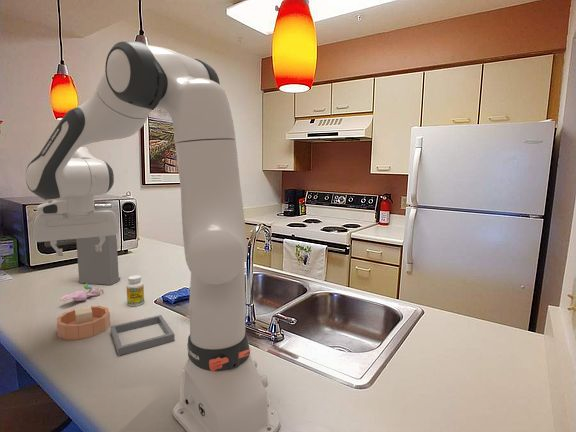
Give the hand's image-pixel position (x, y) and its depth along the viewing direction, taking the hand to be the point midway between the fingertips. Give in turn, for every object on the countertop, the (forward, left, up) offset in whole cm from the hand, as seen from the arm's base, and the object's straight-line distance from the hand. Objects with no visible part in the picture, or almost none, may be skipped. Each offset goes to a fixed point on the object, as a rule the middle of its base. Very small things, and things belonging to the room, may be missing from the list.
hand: (79, 253), depth 94 cm
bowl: (0, 0, -23) cm, 23 cm away
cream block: (0, 0, -22) cm, 22 cm away
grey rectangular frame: (-14, -13, -23) cm, 30 cm away
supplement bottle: (+11, -16, -23) cm, 30 cm away
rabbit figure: (+24, -1, -23) cm, 33 cm away
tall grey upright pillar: (+41, -8, -23) cm, 48 cm away
